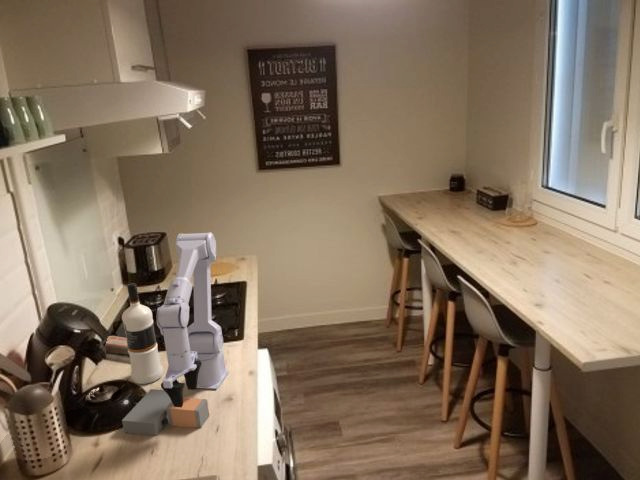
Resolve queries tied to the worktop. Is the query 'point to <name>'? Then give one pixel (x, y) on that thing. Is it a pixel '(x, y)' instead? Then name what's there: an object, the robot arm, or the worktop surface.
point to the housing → (188, 413)
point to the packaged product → (117, 349)
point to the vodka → (141, 340)
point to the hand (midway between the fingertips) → (185, 397)
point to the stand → (147, 414)
